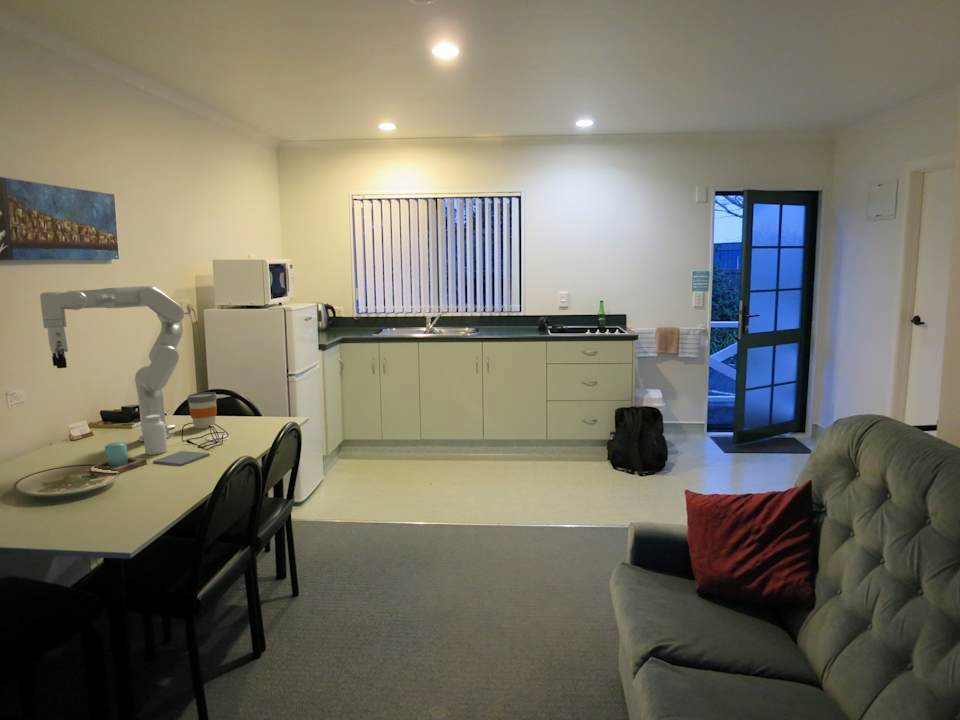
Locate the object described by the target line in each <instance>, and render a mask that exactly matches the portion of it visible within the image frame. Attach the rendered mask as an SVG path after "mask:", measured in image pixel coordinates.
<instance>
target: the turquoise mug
mask: <svg viewBox="0 0 960 720" xmlns="http://www.w3.org/2000/svg"><path fill="white" fill-rule="evenodd" d="M104 451H105V452H104V453H105V460H106V461H108V463H109V467H120V466H123V465H126V464H129V463H128V457H129V455H128V445H127V441H116V442H111V443H108V444H106V445H105V446H104Z"/></svg>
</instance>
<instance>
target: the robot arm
mask: <svg viewBox="0 0 960 720" xmlns="http://www.w3.org/2000/svg"><path fill="white" fill-rule="evenodd" d="M39 298H40V299H39V300H40V306H41V314H42V316H41V317H42V325H43V329H46V330H47V337H48V344H49V349H50V352H51V355H52V356H51V357H52V358H51V359H52V365H53V366H54V367H56V368H57V369H66V368H67V367H68V366H67V365H68V364H67V358H66V354H65V353H68V351H69V348H68V343H67V342H68V341H67V337H66V336H67V335H66V331H65V328H66V327H67V319H66V310H74V311H78V310H81V309H82V310H83V309H91V308H92V309H93V308H94V309H95V308H96V309H97V308H98V309H99V308H101V309H104V308H105V309H123V308H139V307H141V308H142V307H143V308H144V307H148V308H149V309H150V310H152V311H153V312H154V313H155V314H156V316H157V318H158V320H159V321H160V324H161V328H160V332H159V334H158V336H157V338H156V340H155V342H154V344H153V345H152V347H151V349H150V350H149V353H148V354H149V355H148V359H149V361H150V364H149V365H148V366H147V365H146V366H143V367H141V368H139V369H138V370H137V371H136V373H135V375H134V376H135V377H134V382H135V383H134V384H135V387H136V392H137V399H138V400H137V401H138V409H139V410H138V411H139V418H140V427H141V435H140V436H138V437H137V439H138V441H140V442H141V441H142V442H141V443H143V442H144V434H143V425H144V424H145V423H147V422H146V419H145V417H146V416H149V415H160V419H161V420H160V421H162V422H164V424H165V430H166V440H168V439H169V438H171V437H172V434H171V433H170V431H172V430H175V428H176V427H175V425H174V424H172V425H166V423H167V422H166V414H165V412H166V411H165V406H164V405H165V404H164V402H165V400H164V394H163V388H165V387H166V385H167V384H168V382H169V381H170V379H171V377H172V375H173V372H174V371H175V369H176V367H177V365H178V363H179V357H180V355H179V352H178V350H177V347H178V345H179V343H180V340H181V338H182V335H183V330H184V329H183V319H184V317H185V311H184V308H183V307H182V306H181V305H180V304H179V303H177V302H176V301H175V300H173V299H172V298H170V297H169V296H168V295H167V294H165V293H164V292H162V291H161V290H160V289H158V288H156V287H154V286H150V285H149V286H147V285H146V286H143V285H142V286H125V287H124V286H123V287H122V286H119V287H105V288H100V289H97V288H96V289H80V290H79V289H78V290H67V291H64V292H60V291H47V292H46V291H45V292H41V293H40V295H39Z"/></svg>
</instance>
